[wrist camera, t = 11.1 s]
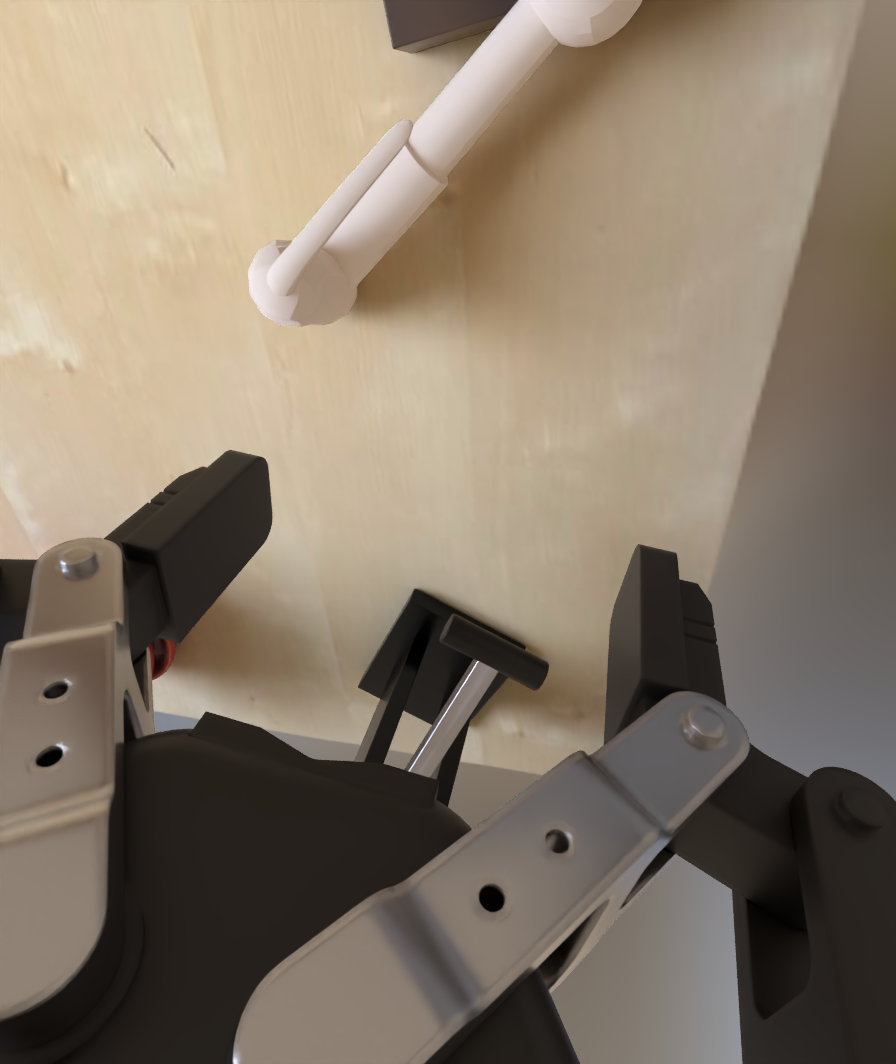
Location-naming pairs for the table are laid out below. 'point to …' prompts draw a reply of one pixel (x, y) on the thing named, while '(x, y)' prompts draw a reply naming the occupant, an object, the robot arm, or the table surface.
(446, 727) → the lever
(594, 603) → the table surface
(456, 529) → the table surface
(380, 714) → the bracket
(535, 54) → the faucet
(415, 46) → the button block
